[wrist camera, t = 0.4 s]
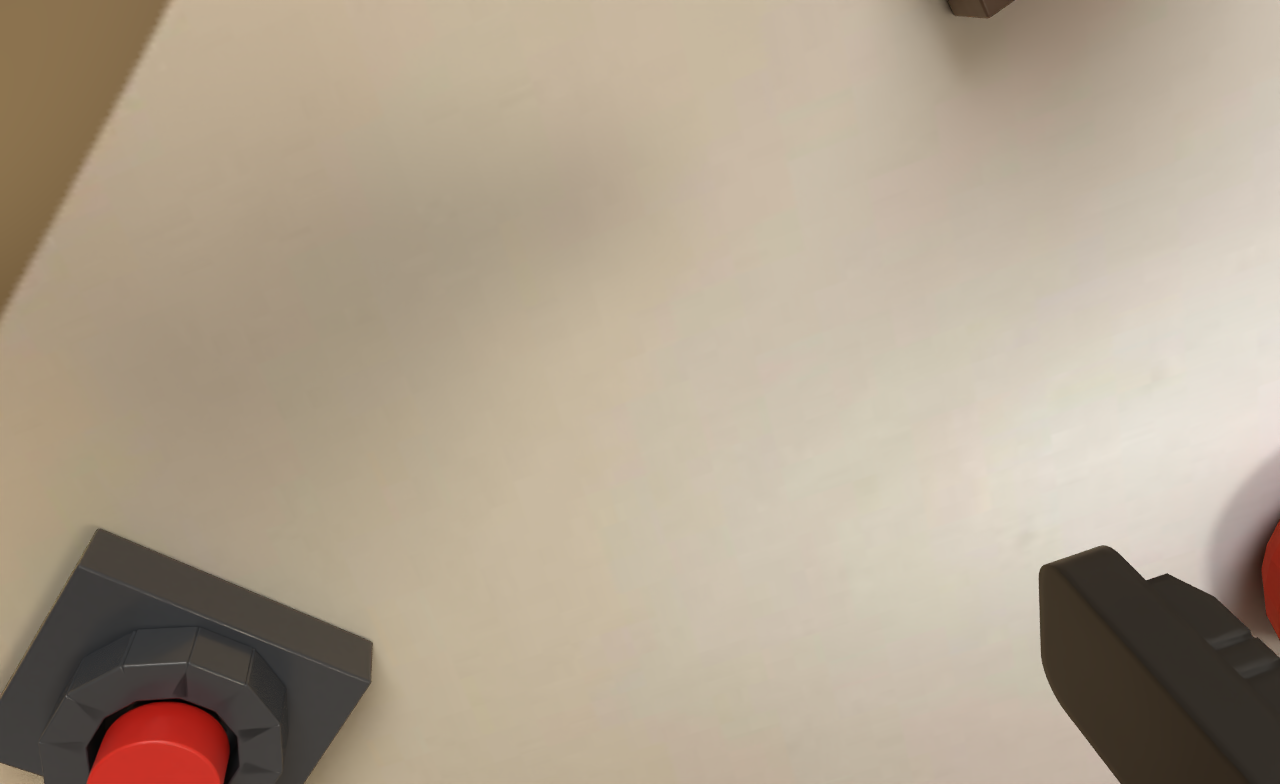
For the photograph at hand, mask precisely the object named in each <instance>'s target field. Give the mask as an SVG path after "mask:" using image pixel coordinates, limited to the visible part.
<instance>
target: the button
mask: <svg viewBox="0 0 1280 784" xmlns="http://www.w3.org/2000/svg"><path fill="white" fill-rule="evenodd" d="M229 755H230V745H229V740H228V737H227V734H226V732H225V730H224V729H223V727H222V726H221V724H220V723H219V722H218V721H217V720H216V719H215V718H214V717H213V716H212V715H210V714H209V713H207V712H206V711H204V710H202V709H200V708H198V707H196V706H193V705H189V704H186V703H181V702H172V701H162V702H153V703H149V704H145V705H142V706H139V707H136V708H134V709H132V710H130V711H128V712H126V713H125V714H123V715H122V716H121V717H119V718H118V719H117V720H116V721H115V722H114V723H113V724H112V725H111V726H110V727H109V729H108V730H107V732H106V734H105V736H104V738H103V740H102V743H101V746H100V748H99V751H98V753H97V756H96V758H95V761H94V764H93V766H92V769H91V771H90V774H89V777H88V780H87V783H86V784H223V783H224V779H225V774H226V769H227V765H228V760H229Z"/></svg>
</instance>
